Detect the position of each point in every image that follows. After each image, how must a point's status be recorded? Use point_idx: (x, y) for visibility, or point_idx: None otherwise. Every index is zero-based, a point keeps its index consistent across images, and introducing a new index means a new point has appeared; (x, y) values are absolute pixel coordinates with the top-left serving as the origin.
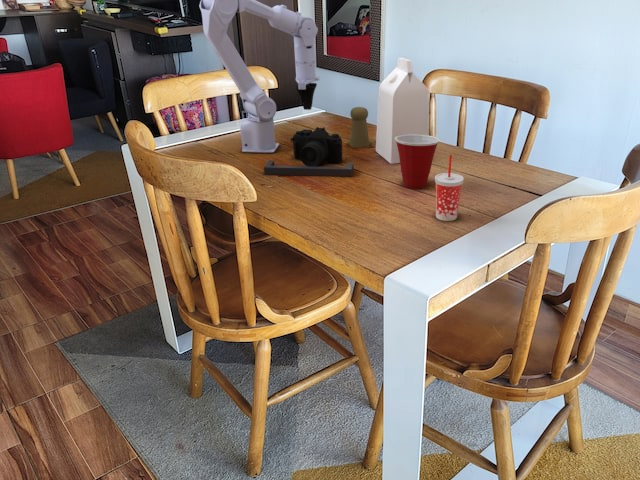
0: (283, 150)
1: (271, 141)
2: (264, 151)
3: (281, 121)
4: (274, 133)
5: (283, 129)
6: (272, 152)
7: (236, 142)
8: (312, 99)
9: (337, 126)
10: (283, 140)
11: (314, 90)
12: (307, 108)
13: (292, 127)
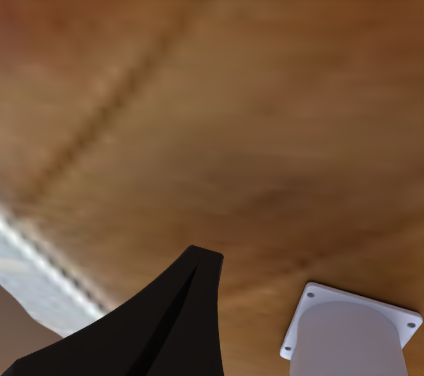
0: (389, 276)
1: (392, 345)
2: (408, 340)
3: (20, 234)
4: (358, 352)
5: (106, 240)
6: (420, 317)
7: (250, 368)
8: (168, 291)
9: (20, 10)
10: (244, 258)
11: (92, 344)
12: (219, 278)
13: (77, 210)
